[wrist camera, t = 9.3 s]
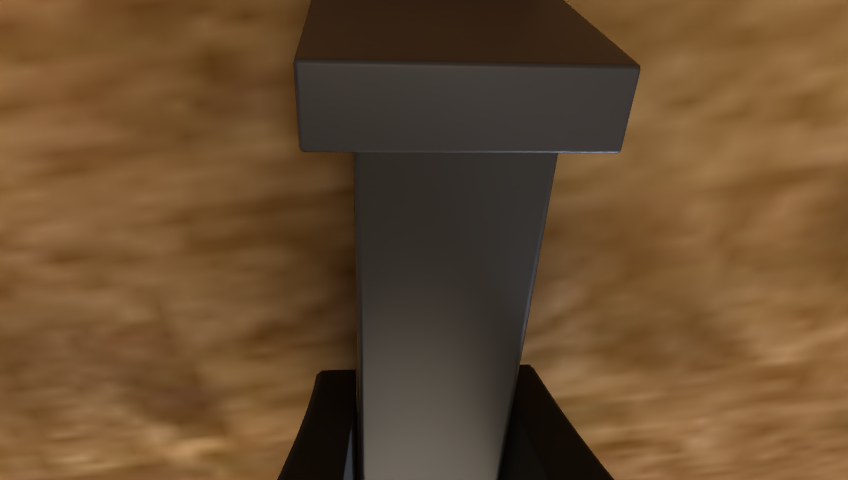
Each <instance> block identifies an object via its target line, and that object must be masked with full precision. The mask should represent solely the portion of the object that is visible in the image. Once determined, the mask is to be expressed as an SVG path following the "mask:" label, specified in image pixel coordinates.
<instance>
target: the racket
mask: <svg viewBox="0 0 848 480" xmlns="http://www.w3.org/2000/svg"><path fill="white" fill-rule="evenodd" d="M293 66H294V80H295V93H296V107H297V121H298V134H299V147H300V149H301V151H303V152H353V171H354V220H355V268H356V316H357V364H358V412H359V415H357V480H499V476H500V470H501V465H502V459H503V454H504V448H505V443H506V437H507V432H508V426H509V421H510V415H511V410H512V404H513V399H514V393H515V388H516V382H517V377H518V371H519V366H520V360H521V355H522V349H523V344H524V338H525V333H526V327H527V322H528V316H529V311H530V305H531V300H532V294H533V289H534V283H535V278H536V272H537V267H538V261H539V256H540V250H541V245H542V239H543V234H544V228H545V223H546V217H547V212H548V206H549V200H550V195H551V189H552V184H553V178H554V173H555V167H556V162H557V156H558V153H619V152H620V151H621V148H622V144H623V139H624V135H625V131H626V127H627V123H628V119H629V115H630V111H631V106H632V102H633V98H634V94H635V90H636V86H637V82H638V78H639V73H640V65H639V64H638V63H636V62H635V61H634V60H633V59H632V58H631V57H629V56H628V55H627V54H626V53H625V52H624V51H622V50H621V49H620V48H619V47H618V46H616V45H615V44H614V43H613V42H612V41H611V40H609V39H608V38H607V37H606V36H605V35H604V34H602V33H601V32H600V31H599V30H598V29H596V28H595V27H594V26H593V25H592V24H591V23H589V22H588V21H587V20H586V19H585V18H584V17H582V16H581V15H580V14H579V13H578V12H576V11H575V10H574V9H573V8H572V7H571V6H569V5H568V4H567V3H566V2H565V1H564V0H312V1H311V4H310V8H309V11H308V14H307V18H306V21H305V25H304V28H303V31H302V35H301V38H300V42H299V45H298V48H297V52H296V55H295V59H294V62H293Z"/></svg>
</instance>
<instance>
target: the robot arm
mask: <svg viewBox="0 0 848 480" xmlns="http://www.w3.org/2000/svg"><path fill="white" fill-rule="evenodd" d="M277 480H357V407H356V369H355V370H322V371H321V372H320V373H319V374H317V376H316V380H315V385H314V389H313V392H312V395H311V399H310V402H309V405H308V408H307V411H306V414H305V416H304V419H303V421H302V424H301V427H300V429H299V432H298V434H297V437H296V439H295V441H294V444H293V446H292V448H291V450H290V453H289V455H288V457H287V459H286V462H285V464H284V466H283V468H282V471H281V473H280V475H279V477H278V479H277ZM499 480H614V479H613V478H612V477H611V475H610V474H609V473H608V472H607V470H606V469H605V468H604V467H603V465H602V464H601V463H600V462H599V460H598V459H597V458H596V456H595V455H594V454H593V452H592V451H591V450H590V449H589V447H588V446H587V445H586V443H585V442H584V441H583V439H582V438H581V437H580V435H579V434H578V433H577V431H576V430H575V429H574V427H573V426H572V425H571V423H570V422H569V420H568V419H567V418H566V416H565V415H564V413H563V412H562V410H561V409H560V408H559V406H558V405H557V403H556V402H555V400H554V399H553V397H552V396H551V394H550V393H549V391H548V390H547V388H546V387H545V385H544V384H543V382H542V381H541V379H540V378H539V376H538V375H537V373H536V371H535V370H534V369H533V368H532V367H531V366H530V365H520V366H519V371H518V377H517V382H516V388H515V393H514V399H513V404H512V410H511V415H510V421H509V426H508V432H507V437H506V443H505V448H504V454H503V459H502V465H501V470H500V476H499Z"/></svg>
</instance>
